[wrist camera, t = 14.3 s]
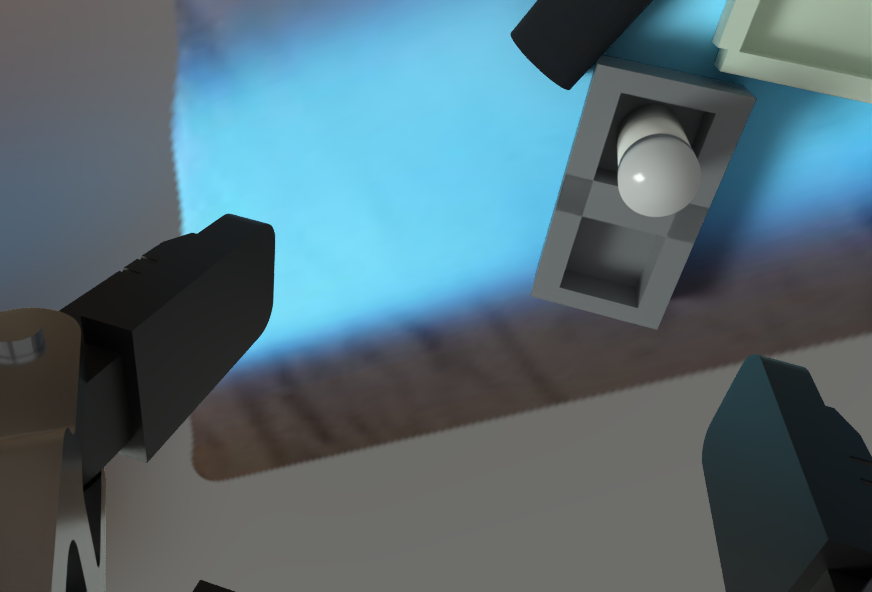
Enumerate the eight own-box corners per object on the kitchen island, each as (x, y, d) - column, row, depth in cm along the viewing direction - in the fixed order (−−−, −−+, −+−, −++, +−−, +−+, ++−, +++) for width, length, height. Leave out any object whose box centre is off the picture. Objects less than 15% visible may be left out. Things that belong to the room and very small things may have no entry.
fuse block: (598, 53, 39) (597, 64, 36) (743, 85, 38) (756, 98, 35) (536, 271, 47) (530, 296, 44) (653, 301, 46) (656, 329, 43)
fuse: (627, 96, 39) (632, 133, 31) (692, 111, 39) (714, 151, 31) (607, 158, 41) (607, 206, 34) (669, 173, 41) (684, 225, 33)
